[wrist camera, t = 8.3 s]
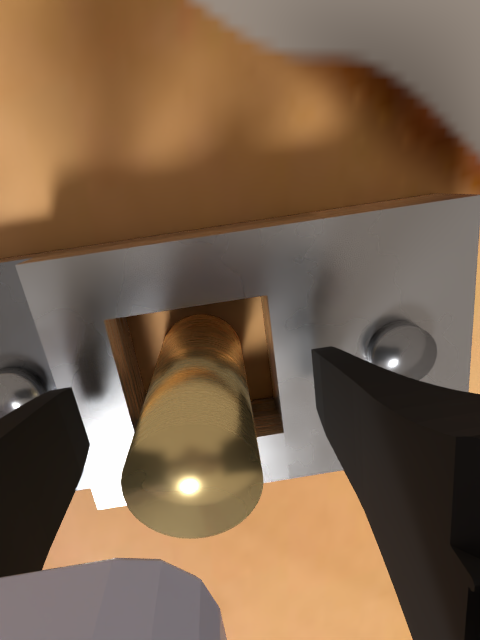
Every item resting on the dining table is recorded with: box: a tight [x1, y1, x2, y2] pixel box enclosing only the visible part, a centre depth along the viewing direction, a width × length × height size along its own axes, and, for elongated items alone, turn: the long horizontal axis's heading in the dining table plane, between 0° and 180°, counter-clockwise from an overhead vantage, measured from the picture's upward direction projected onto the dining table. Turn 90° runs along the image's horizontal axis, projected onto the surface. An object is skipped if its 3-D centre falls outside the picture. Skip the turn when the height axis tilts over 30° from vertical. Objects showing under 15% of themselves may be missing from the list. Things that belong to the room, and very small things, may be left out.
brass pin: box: [121, 314, 263, 539], centre depth 11 cm, size 3×3×7 cm
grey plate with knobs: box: [0, 193, 480, 510], centre depth 13 cm, size 18×9×3 cm, turn 98°
